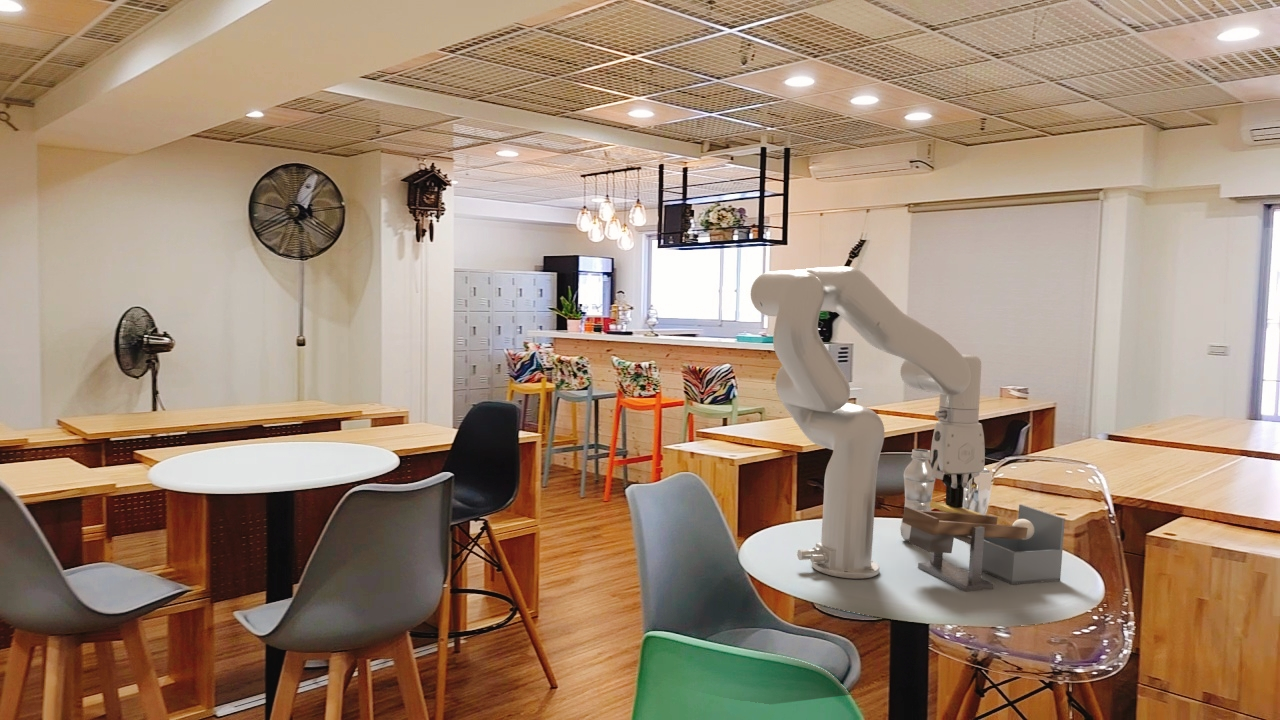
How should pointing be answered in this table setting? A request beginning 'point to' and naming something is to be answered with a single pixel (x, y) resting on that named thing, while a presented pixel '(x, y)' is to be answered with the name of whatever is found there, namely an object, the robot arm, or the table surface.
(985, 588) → the pivot stand
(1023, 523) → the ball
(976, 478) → the beer glass
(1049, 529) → the cup
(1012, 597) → the table surface
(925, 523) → the lever chute
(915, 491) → the plastic bottle
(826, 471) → the robot arm
